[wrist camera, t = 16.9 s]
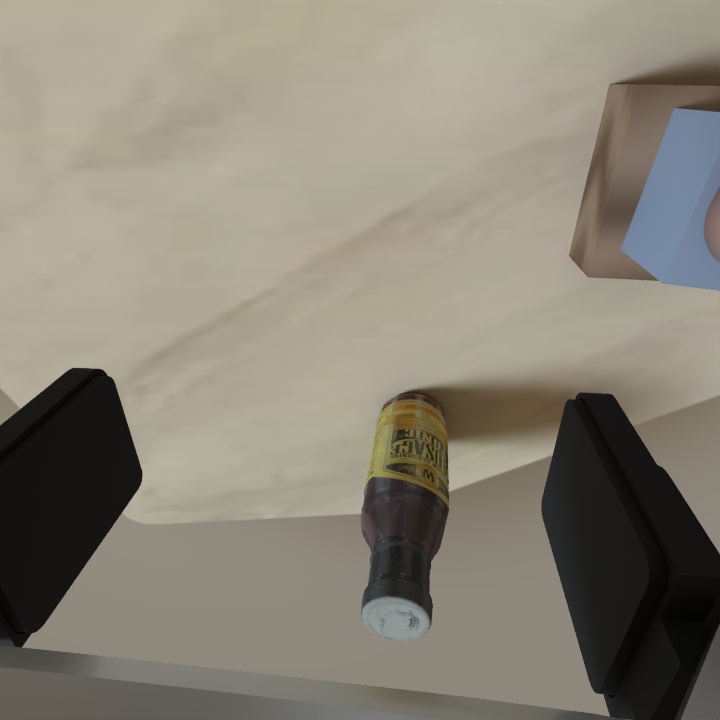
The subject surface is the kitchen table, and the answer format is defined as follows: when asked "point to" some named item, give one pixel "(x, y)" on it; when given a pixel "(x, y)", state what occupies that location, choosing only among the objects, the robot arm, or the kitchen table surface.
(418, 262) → the kitchen table surface
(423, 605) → the sauce bottle
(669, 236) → the tower middle
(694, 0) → the kitchen table surface
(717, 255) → the terracotta cylinder
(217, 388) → the kitchen table surface
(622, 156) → the tower base
